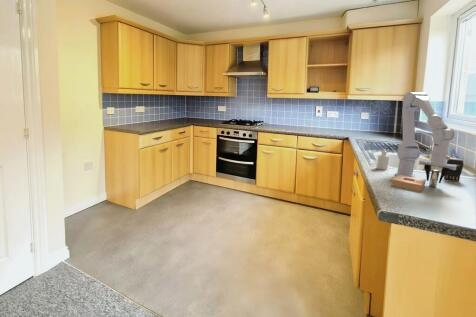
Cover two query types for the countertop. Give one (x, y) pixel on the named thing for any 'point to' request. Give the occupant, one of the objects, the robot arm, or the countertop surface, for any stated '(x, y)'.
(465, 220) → the countertop surface
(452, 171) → the battery charger
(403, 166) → the robot arm
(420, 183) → the hole block
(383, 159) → the eye dropper bottle
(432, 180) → the steel peg
